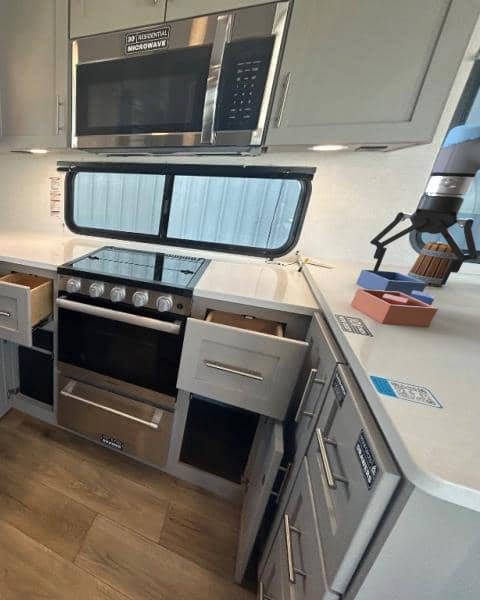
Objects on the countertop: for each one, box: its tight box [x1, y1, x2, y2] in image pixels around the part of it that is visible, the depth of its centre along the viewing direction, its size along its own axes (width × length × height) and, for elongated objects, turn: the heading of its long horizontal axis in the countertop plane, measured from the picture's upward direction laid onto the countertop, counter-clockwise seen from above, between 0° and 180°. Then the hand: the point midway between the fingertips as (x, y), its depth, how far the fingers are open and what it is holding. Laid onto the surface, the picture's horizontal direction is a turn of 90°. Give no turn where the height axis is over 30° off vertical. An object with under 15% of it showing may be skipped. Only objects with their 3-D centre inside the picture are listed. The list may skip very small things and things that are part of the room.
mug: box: [406, 241, 456, 288], centre depth 127 cm, size 16×11×15 cm
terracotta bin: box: [350, 288, 439, 328], centre depth 93 cm, size 12×12×6 cm
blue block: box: [410, 290, 436, 306], centre depth 99 cm, size 5×5×5 cm
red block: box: [381, 294, 408, 305], centre depth 93 cm, size 5×5×5 cm
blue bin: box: [356, 269, 427, 296], centre depth 114 cm, size 12×12×6 cm
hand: (407, 276), depth 89 cm, fingers open, 13 cm apart
